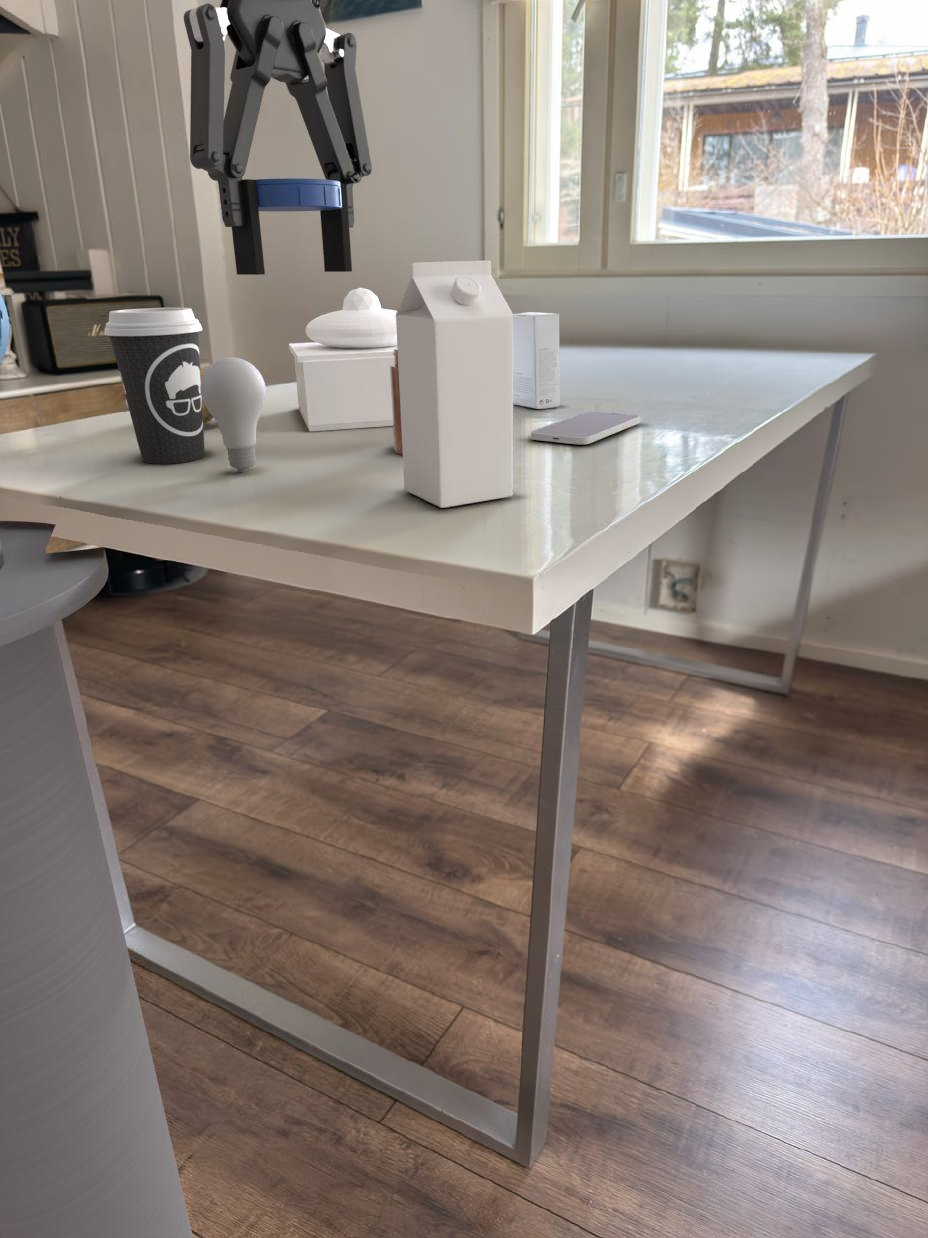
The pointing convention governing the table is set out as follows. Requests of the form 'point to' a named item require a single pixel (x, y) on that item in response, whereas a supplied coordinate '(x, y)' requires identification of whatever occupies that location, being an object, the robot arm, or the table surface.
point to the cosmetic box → (536, 360)
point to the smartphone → (585, 427)
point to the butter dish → (347, 366)
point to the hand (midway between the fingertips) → (296, 272)
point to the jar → (396, 404)
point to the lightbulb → (235, 406)
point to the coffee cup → (161, 380)
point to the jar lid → (298, 194)
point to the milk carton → (456, 384)
